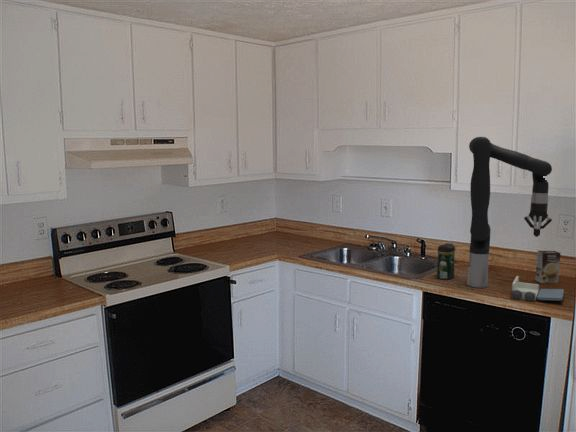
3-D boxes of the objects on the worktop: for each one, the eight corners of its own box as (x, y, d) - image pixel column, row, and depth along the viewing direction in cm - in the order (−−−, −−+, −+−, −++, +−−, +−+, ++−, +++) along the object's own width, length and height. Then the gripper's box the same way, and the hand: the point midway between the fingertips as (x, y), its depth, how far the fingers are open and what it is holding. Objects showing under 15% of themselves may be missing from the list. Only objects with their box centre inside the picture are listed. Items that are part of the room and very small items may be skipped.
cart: (511, 298, 243) (511, 284, 242) (515, 289, 258) (516, 275, 257) (534, 302, 238) (535, 287, 237) (538, 292, 253) (539, 278, 252)
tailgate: (536, 297, 239) (561, 298, 234) (539, 288, 252) (563, 289, 247) (536, 299, 239) (562, 300, 234) (539, 291, 252) (564, 291, 247)
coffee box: (541, 283, 268) (543, 253, 266) (534, 280, 275) (537, 250, 272) (558, 283, 268) (560, 253, 266) (552, 279, 275) (554, 250, 272)
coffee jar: (442, 274, 286) (443, 241, 284) (455, 277, 281) (457, 243, 279) (434, 278, 279) (435, 244, 276) (448, 280, 274) (449, 246, 271)
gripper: (523, 201, 255) (521, 236, 258) (553, 203, 249) (550, 239, 251) (525, 200, 262) (523, 233, 264) (555, 202, 255) (552, 236, 258)
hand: (536, 236), depth 258 cm, fingers closed
